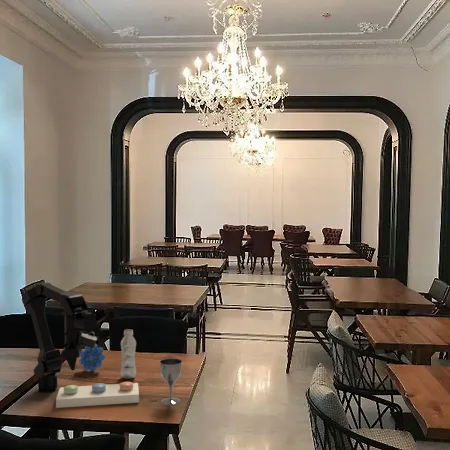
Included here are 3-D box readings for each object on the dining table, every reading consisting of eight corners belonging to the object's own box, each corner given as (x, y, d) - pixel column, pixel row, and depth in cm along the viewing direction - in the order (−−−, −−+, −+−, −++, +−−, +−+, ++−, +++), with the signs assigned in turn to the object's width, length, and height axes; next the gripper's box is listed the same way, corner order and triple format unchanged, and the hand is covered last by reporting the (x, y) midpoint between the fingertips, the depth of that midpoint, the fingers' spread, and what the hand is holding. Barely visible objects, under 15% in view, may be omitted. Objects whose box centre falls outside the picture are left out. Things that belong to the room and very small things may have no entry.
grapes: (108, 368, 223) (108, 341, 222) (102, 373, 216) (102, 346, 216) (83, 367, 225) (83, 340, 224) (76, 372, 218) (76, 344, 218)
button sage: (63, 402, 184) (63, 390, 184) (64, 396, 189) (64, 385, 189) (77, 401, 185) (77, 389, 185) (78, 396, 190) (78, 384, 190)
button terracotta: (119, 398, 188) (119, 386, 188) (119, 393, 193) (119, 382, 193) (133, 397, 189) (133, 386, 189) (132, 392, 194) (132, 381, 194)
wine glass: (182, 397, 191) (182, 357, 191) (180, 405, 183) (181, 364, 183) (160, 397, 191) (161, 357, 190) (158, 405, 183) (159, 364, 182)
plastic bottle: (121, 381, 208) (121, 332, 207) (119, 375, 214) (120, 328, 213) (136, 380, 209) (137, 332, 208) (135, 374, 216) (135, 328, 215)
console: (56, 407, 180) (56, 399, 180) (60, 395, 192) (60, 387, 192) (138, 402, 186) (138, 394, 186) (137, 390, 198) (137, 382, 198)
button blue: (91, 400, 186) (91, 388, 186) (92, 395, 191) (92, 383, 191) (105, 399, 187) (105, 387, 187) (106, 394, 192) (106, 382, 192)
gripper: (93, 333, 179) (93, 377, 180) (97, 321, 197) (97, 361, 198) (60, 334, 177) (60, 379, 178) (67, 322, 195) (67, 362, 196)
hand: (73, 370), depth 188 cm, fingers closed
